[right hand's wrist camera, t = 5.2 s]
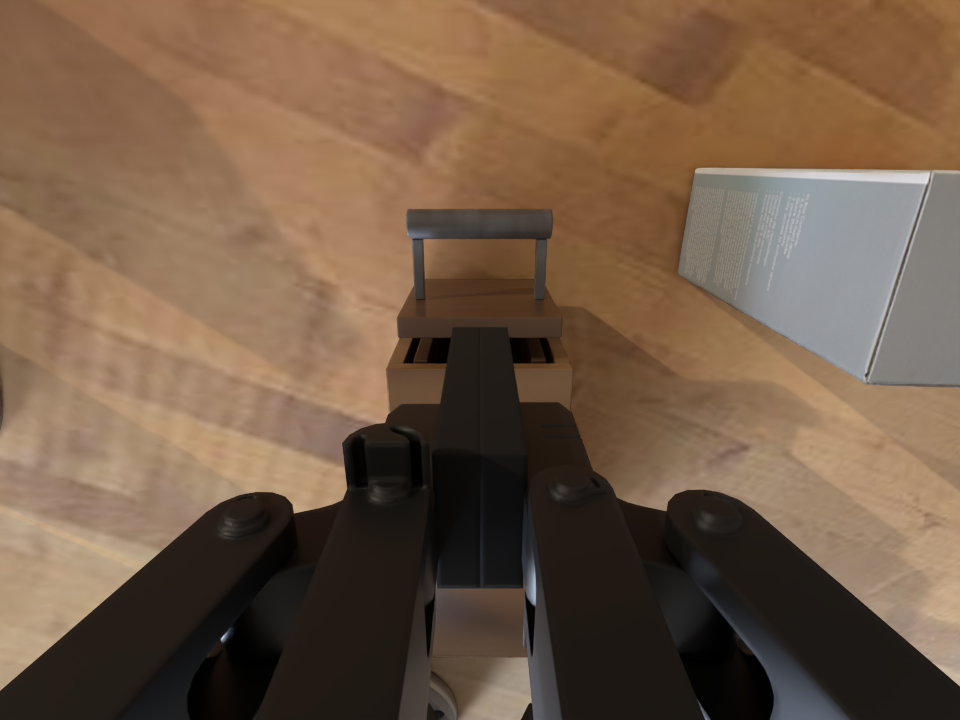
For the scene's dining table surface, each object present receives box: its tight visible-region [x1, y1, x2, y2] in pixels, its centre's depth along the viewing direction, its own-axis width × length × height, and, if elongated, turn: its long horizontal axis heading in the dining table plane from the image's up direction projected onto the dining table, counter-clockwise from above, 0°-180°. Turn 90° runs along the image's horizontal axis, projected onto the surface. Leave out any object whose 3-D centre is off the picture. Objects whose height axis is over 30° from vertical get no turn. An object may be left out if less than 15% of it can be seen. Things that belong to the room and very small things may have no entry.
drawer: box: [397, 209, 562, 364], centre depth 34 cm, size 26×9×10 cm, turn 0°
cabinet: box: [386, 338, 573, 657], centre depth 37 cm, size 22×10×11 cm, turn 0°
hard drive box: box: [678, 168, 960, 388], centre depth 26 cm, size 16×8×20 cm, turn 89°
